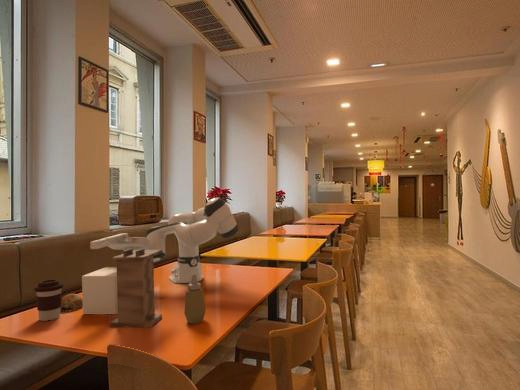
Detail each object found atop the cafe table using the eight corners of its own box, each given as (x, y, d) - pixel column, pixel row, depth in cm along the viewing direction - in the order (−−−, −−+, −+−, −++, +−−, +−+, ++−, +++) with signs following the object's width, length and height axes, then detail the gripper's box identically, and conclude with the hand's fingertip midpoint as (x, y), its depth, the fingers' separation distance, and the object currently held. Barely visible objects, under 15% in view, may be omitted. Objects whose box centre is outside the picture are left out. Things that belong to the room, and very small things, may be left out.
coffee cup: (45, 314, 145) (45, 278, 145) (68, 314, 145) (68, 278, 145) (29, 322, 135) (28, 284, 135) (54, 322, 135) (53, 284, 135)
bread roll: (85, 314, 154) (90, 296, 158) (67, 311, 146) (73, 292, 149) (68, 313, 158) (74, 295, 161) (49, 309, 149) (56, 290, 152)
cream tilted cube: (106, 301, 161) (105, 267, 161) (135, 301, 160) (134, 267, 160) (82, 314, 143) (81, 276, 143) (114, 315, 142) (114, 276, 142)
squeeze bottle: (185, 318, 136) (184, 272, 136) (206, 317, 137) (205, 271, 137) (183, 326, 128) (182, 277, 128) (205, 324, 129) (204, 276, 129)
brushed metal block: (122, 239, 166) (122, 233, 166) (128, 239, 166) (128, 233, 166) (90, 249, 140) (90, 241, 140) (97, 249, 140) (97, 241, 140)
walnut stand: (131, 311, 146) (130, 245, 146) (168, 311, 144) (166, 244, 144) (108, 327, 128) (107, 252, 128) (150, 328, 126) (148, 251, 127)
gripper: (114, 242, 176) (101, 230, 164) (153, 241, 174) (142, 230, 162) (111, 253, 173) (97, 243, 161) (151, 253, 171) (140, 242, 159)
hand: (120, 236), depth 162 cm, fingers closed on brushed metal block, 3 cm apart
